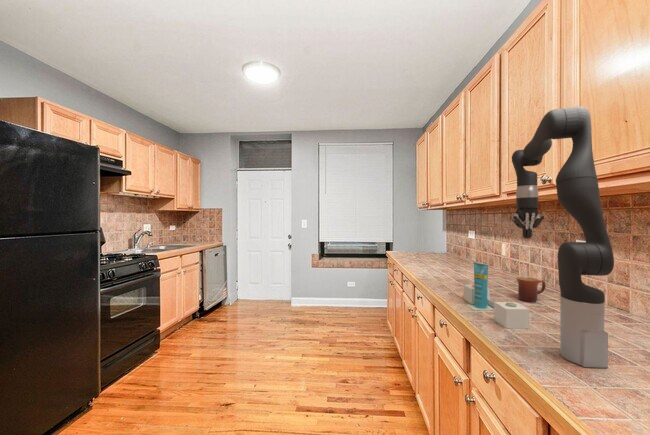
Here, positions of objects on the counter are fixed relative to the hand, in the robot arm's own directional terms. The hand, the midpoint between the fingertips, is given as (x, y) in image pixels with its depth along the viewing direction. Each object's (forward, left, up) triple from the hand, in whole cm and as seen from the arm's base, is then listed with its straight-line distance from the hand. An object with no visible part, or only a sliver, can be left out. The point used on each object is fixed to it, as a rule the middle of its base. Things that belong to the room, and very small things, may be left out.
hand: (527, 238), depth 117 cm
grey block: (+12, +15, -31) cm, 36 cm away
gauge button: (+12, +15, -28) cm, 34 cm away
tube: (+4, +17, -31) cm, 35 cm away
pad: (+4, +17, -31) cm, 36 cm away
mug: (+15, -12, -31) cm, 36 cm away
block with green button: (-14, +15, -31) cm, 37 cm away
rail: (-1, +11, -31) cm, 33 cm away
